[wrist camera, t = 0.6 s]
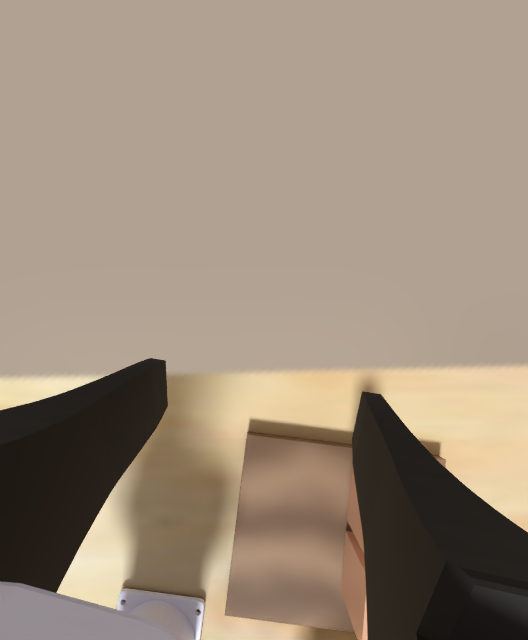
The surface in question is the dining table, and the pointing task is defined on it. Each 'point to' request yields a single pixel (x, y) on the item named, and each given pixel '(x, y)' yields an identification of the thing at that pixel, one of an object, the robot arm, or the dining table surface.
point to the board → (292, 532)
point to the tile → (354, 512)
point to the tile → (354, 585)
